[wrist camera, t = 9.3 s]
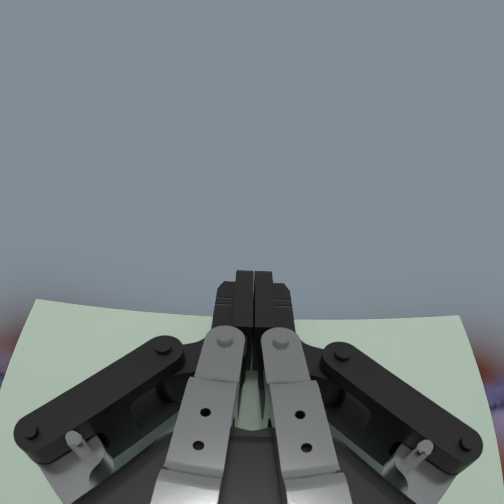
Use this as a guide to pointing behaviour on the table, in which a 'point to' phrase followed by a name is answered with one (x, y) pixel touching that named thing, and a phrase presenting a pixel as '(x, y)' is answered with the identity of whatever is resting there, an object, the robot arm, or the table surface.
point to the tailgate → (195, 329)
